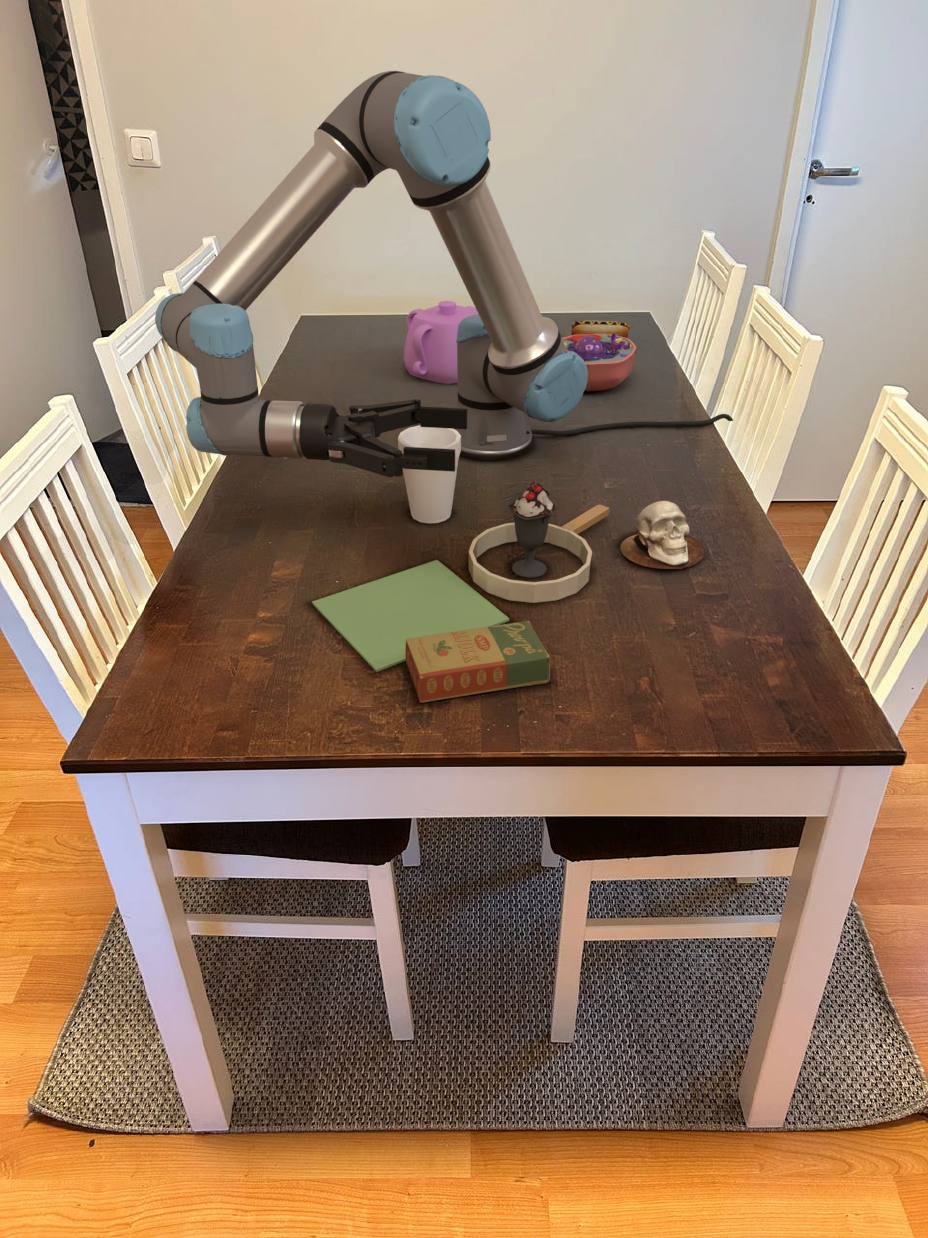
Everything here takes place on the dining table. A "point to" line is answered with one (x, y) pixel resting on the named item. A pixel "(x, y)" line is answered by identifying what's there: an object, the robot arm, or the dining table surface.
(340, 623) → the mat
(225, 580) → the dining table surface
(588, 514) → the pan
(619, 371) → the cell model
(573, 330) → the hot dog
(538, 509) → the sundae
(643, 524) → the skull
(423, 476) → the foam cup
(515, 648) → the carton
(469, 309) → the teapot
